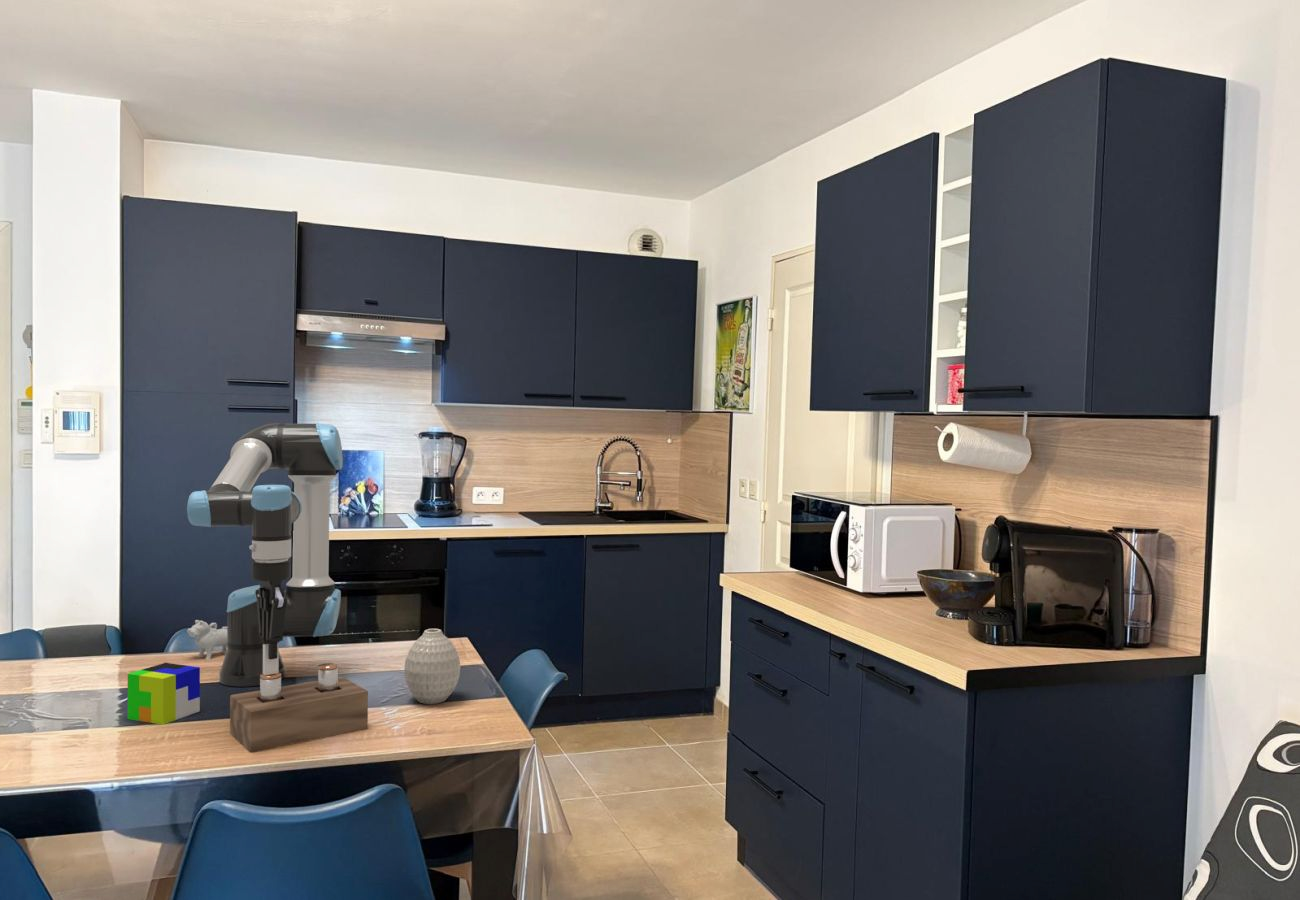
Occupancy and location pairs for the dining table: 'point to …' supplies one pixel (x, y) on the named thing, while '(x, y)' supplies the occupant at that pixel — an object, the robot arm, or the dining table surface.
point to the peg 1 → (270, 687)
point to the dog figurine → (208, 637)
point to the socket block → (297, 714)
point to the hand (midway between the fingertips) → (270, 673)
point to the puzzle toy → (163, 693)
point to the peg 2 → (327, 677)
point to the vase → (432, 667)
